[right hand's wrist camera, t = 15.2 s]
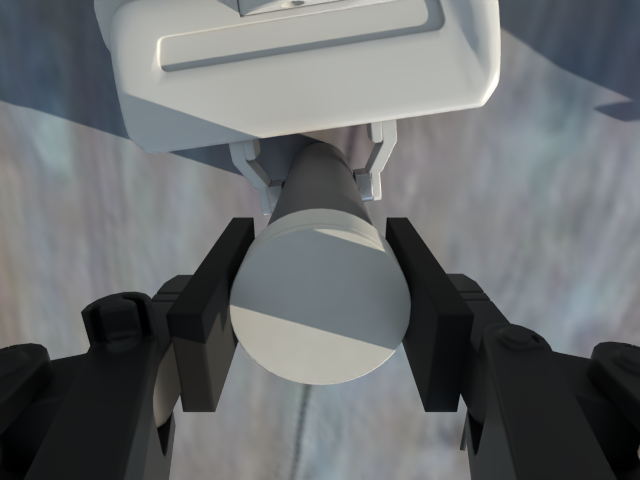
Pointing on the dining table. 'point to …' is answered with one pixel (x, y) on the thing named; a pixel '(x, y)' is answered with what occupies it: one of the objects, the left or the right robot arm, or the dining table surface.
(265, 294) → the cream round lid
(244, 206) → the dining table surface
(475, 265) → the dining table surface
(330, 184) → the dark grey cylinder
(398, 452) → the dining table surface
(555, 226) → the dining table surface
